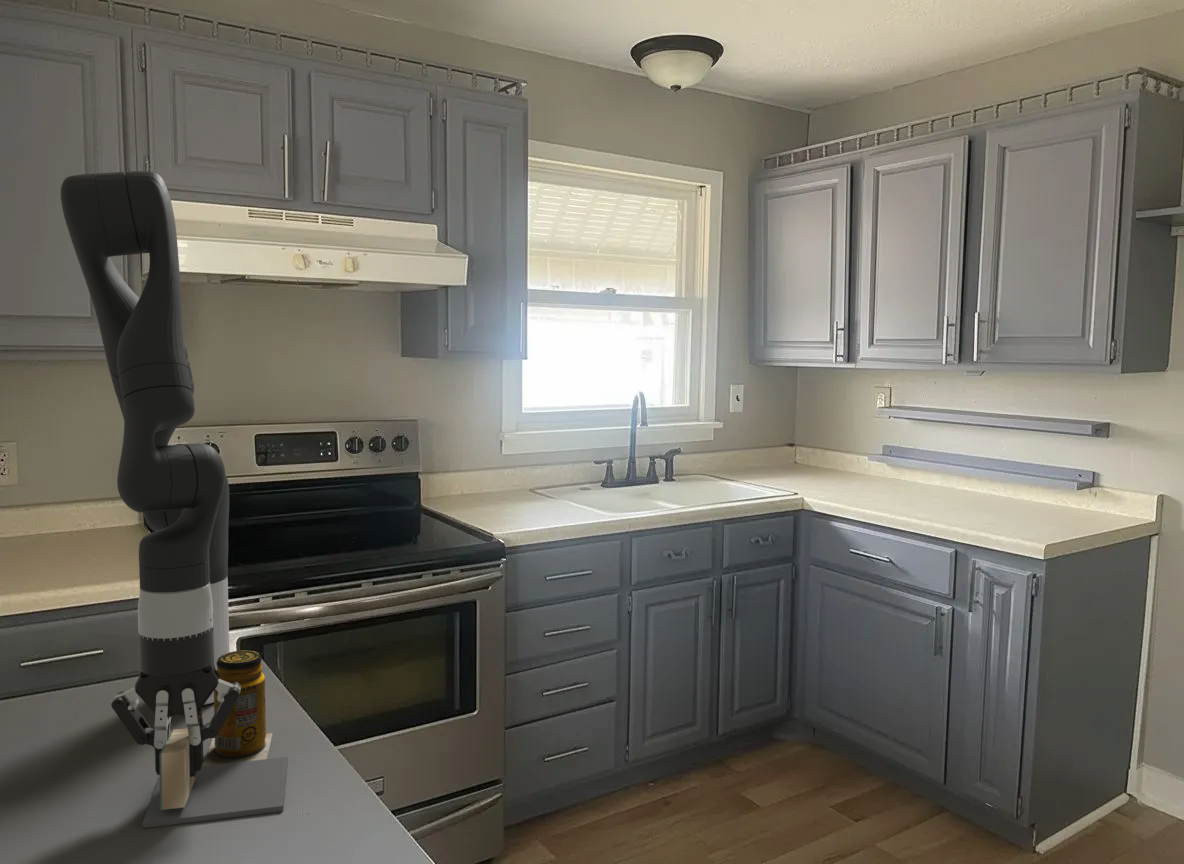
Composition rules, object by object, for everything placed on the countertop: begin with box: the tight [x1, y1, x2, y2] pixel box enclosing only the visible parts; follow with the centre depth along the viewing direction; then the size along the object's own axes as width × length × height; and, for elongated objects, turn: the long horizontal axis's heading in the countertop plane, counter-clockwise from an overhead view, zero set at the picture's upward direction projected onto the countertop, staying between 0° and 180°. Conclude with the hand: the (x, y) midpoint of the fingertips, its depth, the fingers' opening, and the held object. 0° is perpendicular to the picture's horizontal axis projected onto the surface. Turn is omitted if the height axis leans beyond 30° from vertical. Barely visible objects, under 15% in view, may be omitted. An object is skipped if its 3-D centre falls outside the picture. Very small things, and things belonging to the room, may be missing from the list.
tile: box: [159, 728, 195, 810], centre depth 99 cm, size 2×6×8 cm
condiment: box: [202, 649, 273, 766], centre depth 112 cm, size 7×8×12 cm
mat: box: [142, 756, 289, 829], centre depth 102 cm, size 12×14×1 cm
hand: (180, 774), depth 100 cm, fingers closed on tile, 2 cm apart
